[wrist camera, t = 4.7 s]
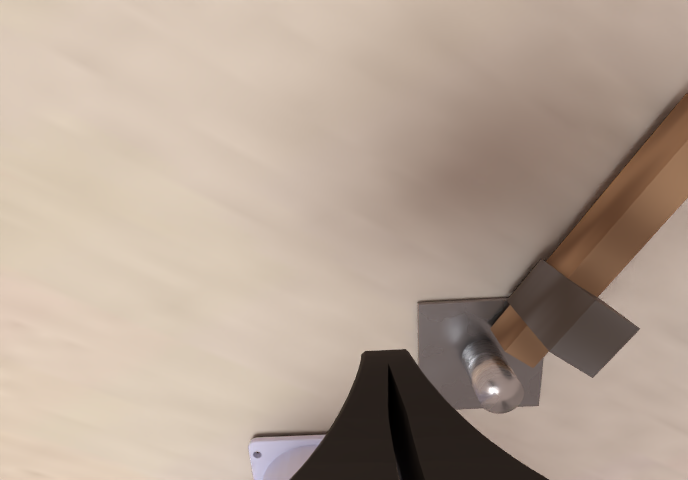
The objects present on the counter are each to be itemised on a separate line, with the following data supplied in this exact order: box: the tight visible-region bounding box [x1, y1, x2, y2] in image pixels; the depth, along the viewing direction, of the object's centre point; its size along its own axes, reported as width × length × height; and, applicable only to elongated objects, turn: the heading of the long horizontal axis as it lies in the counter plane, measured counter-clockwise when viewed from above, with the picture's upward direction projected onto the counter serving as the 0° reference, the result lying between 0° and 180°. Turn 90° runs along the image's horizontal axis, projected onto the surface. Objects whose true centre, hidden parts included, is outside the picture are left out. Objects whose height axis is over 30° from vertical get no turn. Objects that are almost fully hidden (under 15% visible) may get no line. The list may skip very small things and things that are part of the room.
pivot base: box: [418, 298, 543, 413], centre depth 21 cm, size 7×7×4 cm
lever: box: [490, 93, 688, 378], centre depth 18 cm, size 14×4×5 cm, turn 148°
